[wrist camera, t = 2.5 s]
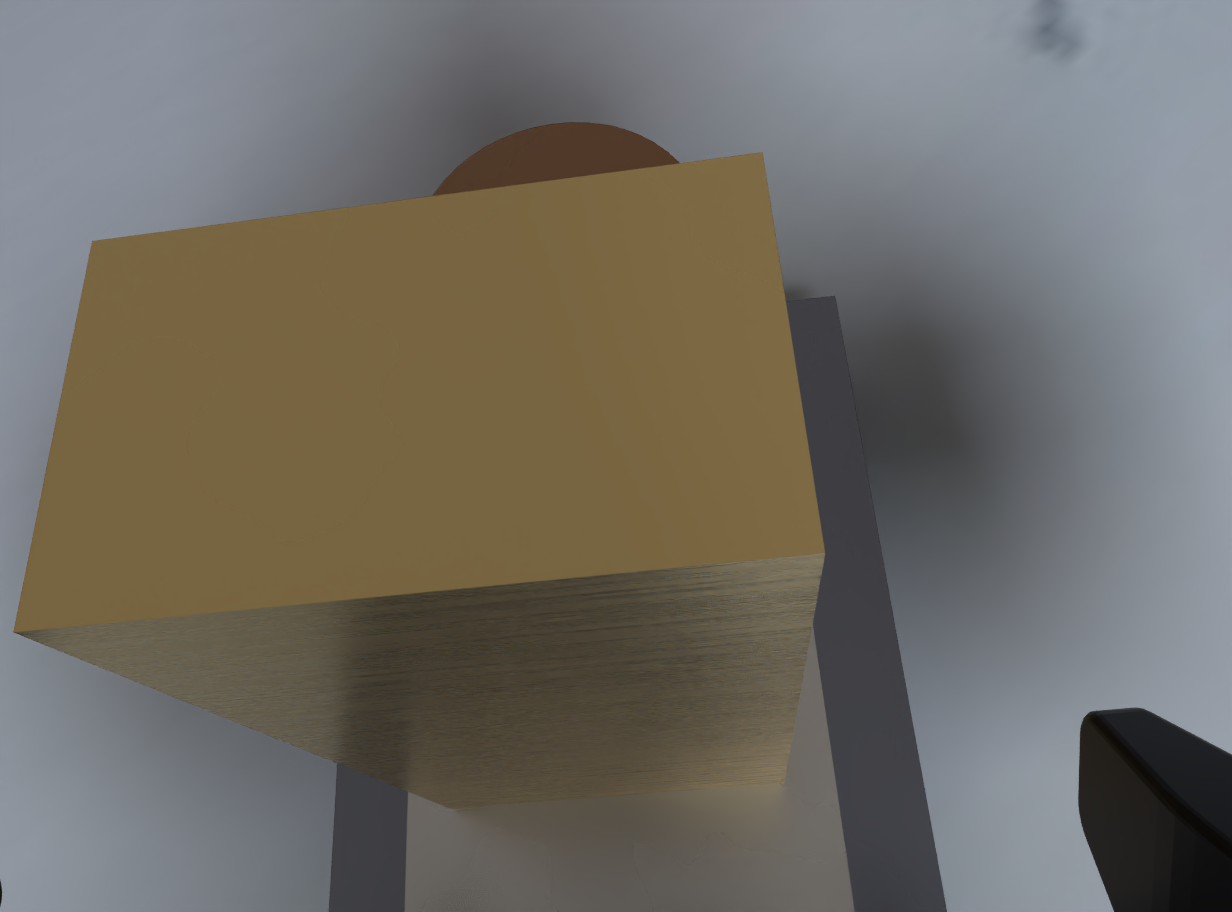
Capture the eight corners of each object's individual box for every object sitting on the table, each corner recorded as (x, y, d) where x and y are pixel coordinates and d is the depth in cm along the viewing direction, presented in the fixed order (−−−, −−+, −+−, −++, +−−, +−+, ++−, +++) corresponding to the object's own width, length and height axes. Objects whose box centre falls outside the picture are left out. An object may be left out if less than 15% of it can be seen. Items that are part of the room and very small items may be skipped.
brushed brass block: (784, 783, 15) (825, 554, 6) (450, 808, 15) (13, 631, 6) (759, 586, 16) (762, 152, 7) (452, 616, 17) (90, 240, 8)
